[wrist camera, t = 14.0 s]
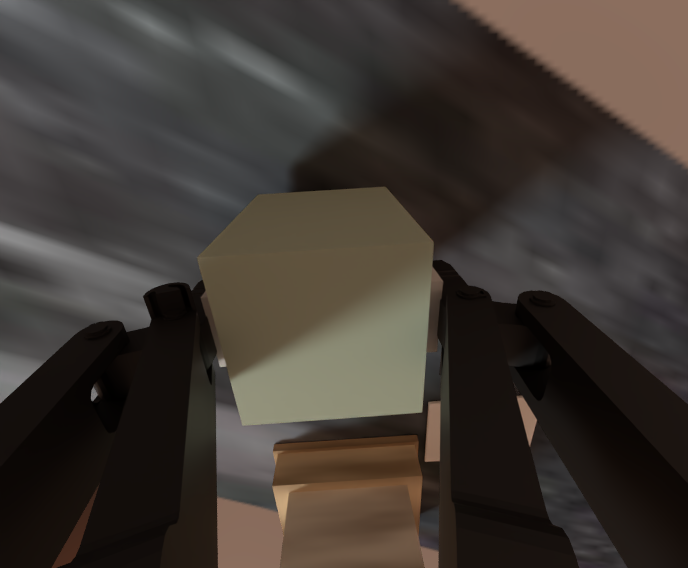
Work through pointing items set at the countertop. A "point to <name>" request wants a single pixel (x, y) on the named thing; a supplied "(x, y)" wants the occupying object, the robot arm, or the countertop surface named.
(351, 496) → the birch brick
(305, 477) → the base
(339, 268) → the sage brick
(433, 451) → the page
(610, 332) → the countertop surface
